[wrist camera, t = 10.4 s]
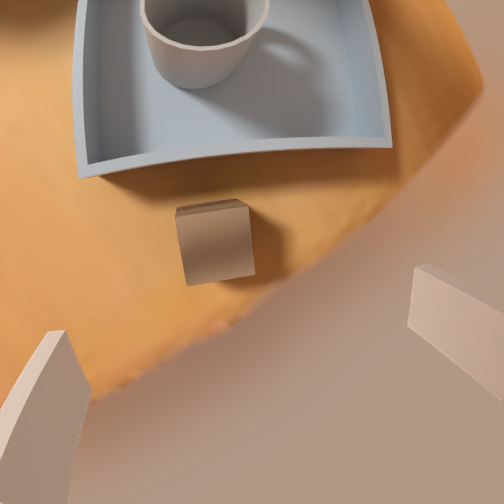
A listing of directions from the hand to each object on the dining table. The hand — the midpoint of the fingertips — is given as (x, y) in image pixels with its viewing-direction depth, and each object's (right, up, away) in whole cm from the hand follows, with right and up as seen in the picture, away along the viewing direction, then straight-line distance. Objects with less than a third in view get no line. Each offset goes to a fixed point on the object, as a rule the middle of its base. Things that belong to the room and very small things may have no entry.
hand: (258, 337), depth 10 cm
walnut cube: (-4, +5, +16) cm, 17 cm away
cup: (-4, +20, +10) cm, 23 cm away
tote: (-2, +20, +11) cm, 23 cm away
